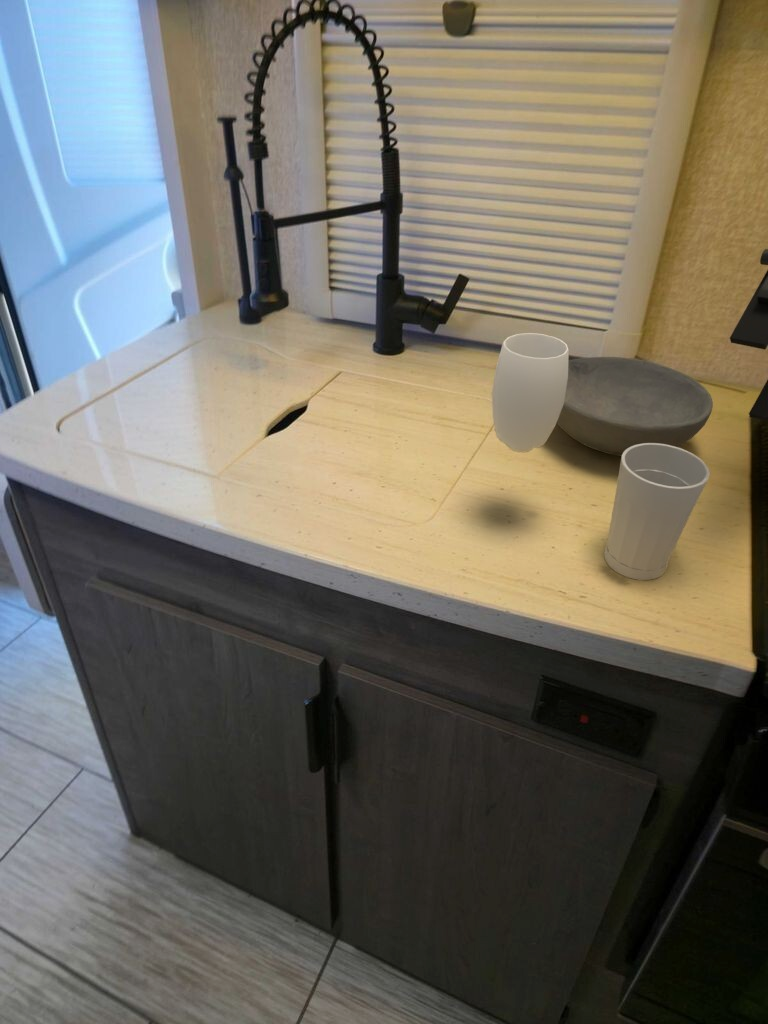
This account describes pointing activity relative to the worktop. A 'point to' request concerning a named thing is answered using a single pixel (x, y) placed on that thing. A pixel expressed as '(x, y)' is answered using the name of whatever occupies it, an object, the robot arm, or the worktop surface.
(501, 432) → the cup
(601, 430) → the bowl
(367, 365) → the worktop surface
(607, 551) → the cup
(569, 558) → the worktop surface
